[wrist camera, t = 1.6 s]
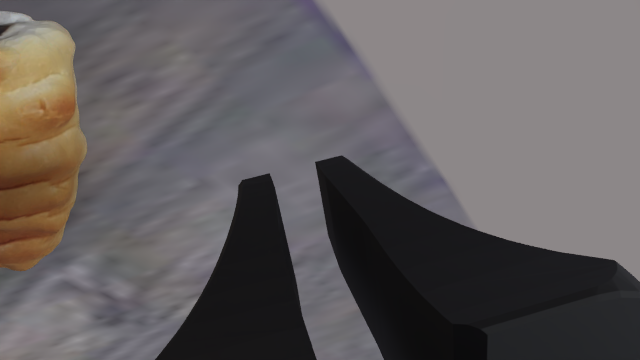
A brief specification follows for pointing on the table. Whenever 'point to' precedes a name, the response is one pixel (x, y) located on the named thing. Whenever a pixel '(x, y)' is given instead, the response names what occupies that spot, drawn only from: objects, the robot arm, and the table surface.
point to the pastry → (36, 138)
